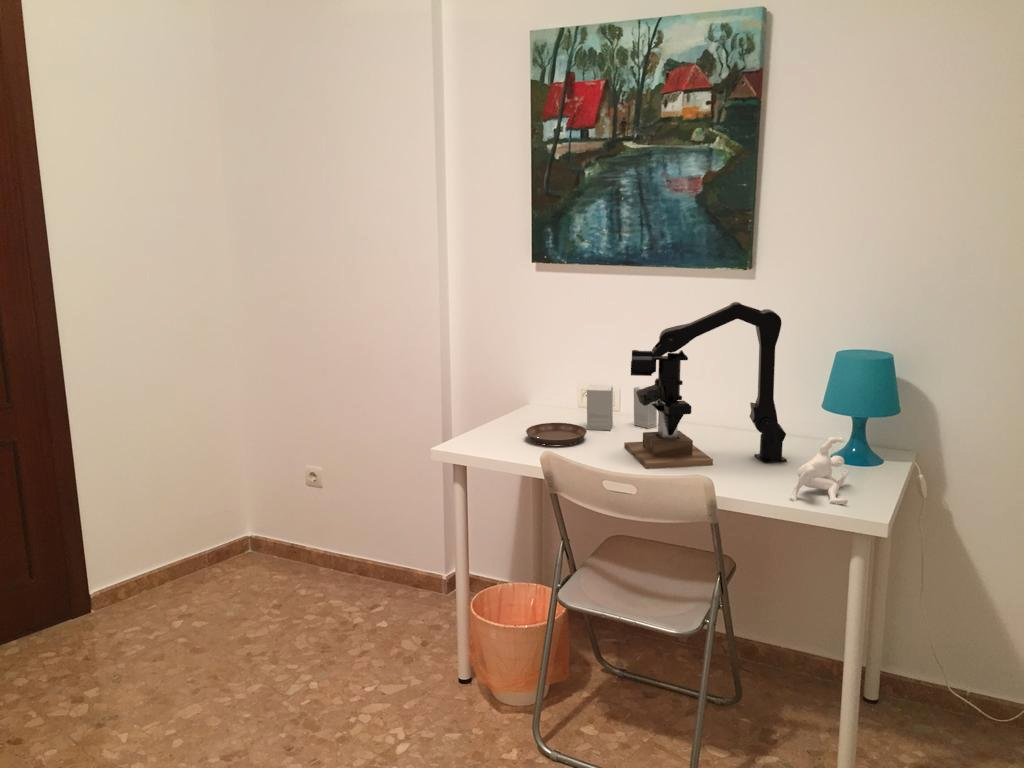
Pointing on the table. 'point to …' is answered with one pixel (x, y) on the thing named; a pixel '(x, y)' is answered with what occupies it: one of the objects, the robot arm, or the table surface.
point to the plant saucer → (556, 433)
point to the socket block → (667, 451)
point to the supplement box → (599, 407)
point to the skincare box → (644, 412)
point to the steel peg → (664, 427)
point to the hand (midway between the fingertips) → (667, 432)
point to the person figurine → (822, 473)
